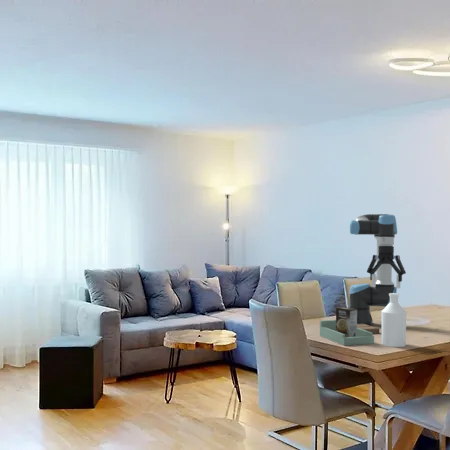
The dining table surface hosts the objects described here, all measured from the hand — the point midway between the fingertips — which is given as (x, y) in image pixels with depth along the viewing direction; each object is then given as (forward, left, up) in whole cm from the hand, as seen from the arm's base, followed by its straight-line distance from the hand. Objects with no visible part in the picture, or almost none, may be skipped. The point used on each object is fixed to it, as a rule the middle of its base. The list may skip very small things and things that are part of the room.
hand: (385, 287), depth 299 cm
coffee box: (-9, -17, -27) cm, 33 cm away
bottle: (+8, -1, -27) cm, 29 cm away
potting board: (-27, +1, -27) cm, 38 cm away
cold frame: (-9, -17, -27) cm, 33 cm away
